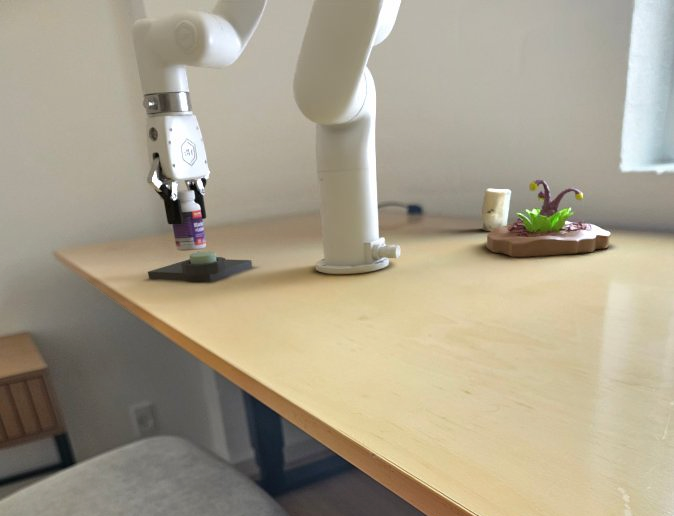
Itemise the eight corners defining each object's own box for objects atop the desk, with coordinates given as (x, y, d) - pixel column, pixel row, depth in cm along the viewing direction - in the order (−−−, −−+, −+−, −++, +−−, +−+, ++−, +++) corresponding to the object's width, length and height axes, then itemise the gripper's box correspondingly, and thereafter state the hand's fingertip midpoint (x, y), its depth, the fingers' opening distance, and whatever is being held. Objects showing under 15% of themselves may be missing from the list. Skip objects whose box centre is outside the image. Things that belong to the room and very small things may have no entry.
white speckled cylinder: (509, 227, 139) (510, 186, 136) (510, 231, 135) (511, 189, 131) (481, 228, 140) (482, 188, 137) (481, 232, 136) (482, 191, 132)
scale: (255, 267, 119) (253, 250, 117) (209, 284, 109) (206, 265, 107) (193, 265, 126) (190, 249, 124) (144, 281, 115) (141, 263, 114)
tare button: (222, 260, 113) (220, 251, 112) (205, 266, 109) (204, 256, 109) (202, 260, 115) (200, 251, 114) (185, 265, 111) (184, 256, 111)
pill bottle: (203, 249, 116) (194, 191, 112) (173, 252, 117) (163, 193, 112) (209, 244, 121) (200, 188, 117) (180, 247, 121) (170, 190, 117)
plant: (473, 242, 125) (474, 179, 120) (571, 233, 127) (576, 170, 122) (508, 261, 108) (511, 188, 103) (623, 250, 109) (631, 177, 104)
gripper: (149, 106, 100) (170, 229, 108) (218, 104, 114) (233, 214, 122) (114, 110, 104) (137, 229, 112) (185, 108, 117) (201, 214, 125)
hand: (187, 220), depth 117 cm, fingers closed on pill bottle, 5 cm apart
